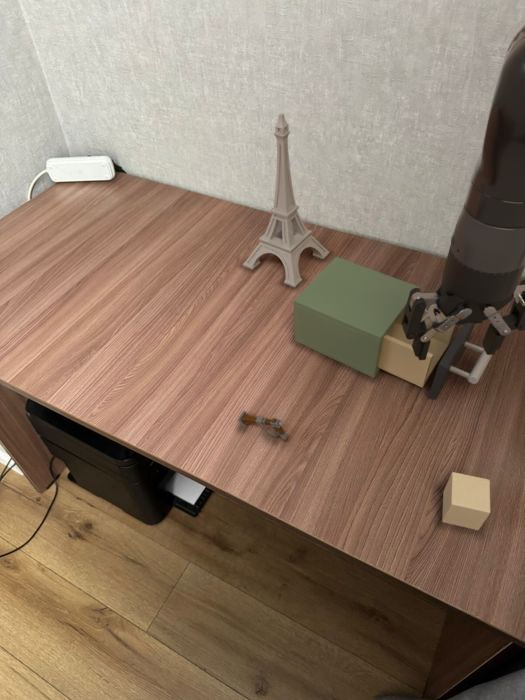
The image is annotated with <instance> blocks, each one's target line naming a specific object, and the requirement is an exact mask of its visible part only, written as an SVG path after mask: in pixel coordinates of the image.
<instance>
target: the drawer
mask: <svg viewBox="0 0 525 700" xmlns="http://www.w3.org/2000/svg"><path fill="white" fill-rule="evenodd" d="M433 305H434V304H433ZM433 305H431V306H433ZM431 306H430V307H431ZM430 307H429V308H430ZM404 311H405V309H404ZM404 311H403V312H402V313H401V315H400V316H399V317H398V319H397V320H396V321H395V323H394V324H393V325H392V327H391V328H390V329H389V331H388V332H387V333H386V335H385V336H384V337H383V339H382V345H381V351H380V356H379V362H378V368H380V370H383V371H385V372H386V373H389V374H391V375H394V376H395V377H398V378H400V379H402V380H404V381H407V382H409V383H411V384H413V385H415V386H417V387H419V388H424V386H425V385H426V383H427V381H428V379H429V378H430V377H431V375H432V373H433V372H434V371H435V369H436V368H437V369H436V371H435V374H434V378H433V381H432V384H431V387H430V391H429V394H428V397H429V398H431V399H433V400H434V401H435V400H437V399H438V397H439V395H440V394H441V392H442V390H443V388H444V387H445V385H446V383H447V382H448V380H449V378H450V377H451V375H452V373H454V374H457V375H458V376H460V377H463V378H465V379H467V381H468V383H470V384H473V385H477V384H478V382H479V381H480V379H481V377H482V375H483V374H484V372H485V369H486V368H487V366H488V364H489V362H490V361H491V359H492V357H493V355H487V354H486V352H485V350H484V348H483V347H481V346H478V345H476V344H473V343H471V342H470V339H471V336H472V333H473V331H474V328H475V325H476V323H466V324H462V326H461V327H460V329H459V331H458V332H457V334H456V336H455V337H454V339H453V340H452V338H453V335H454V333H455V329H456V326H457V325H453V326H452V327H451V328H449V329H448V330H447V331H446V332H444V333H441V332H439V333H438V334H436V335H435V336H434V337H433V338H431V339H430V341H431V342H430V346H429V349H428V353H427V357H426V360H419V359H418V357H416V356H415V354H414V351H413V348H412V343H413V339H411V340H409V339H407V338H406V336H405V333H404V330H403V327H402V324H401V321H402V318H403V314H404ZM427 311H428V310H427ZM425 315H426V314H423V317H424V316H425ZM440 316H441V318H442V320H444V319H445V318H446V317H445V316H444V314H443V313H442V312H441V314H440ZM423 317H422V318H423ZM431 325H432V323H431V324H430V325H428V326H427V329H428V328H429V327H430V326H431ZM451 341H452V342H451ZM467 349H470V350H472V351H474V352H477V353H480V355H479V357H478V359H477V360H476V362H475V364H474V366H473V368H472V369H471V371H470V372H467V371H464V370H462V369H460V368H458V367H456V366H457V365H458V363H459V362H460V360H461V358H462V356H463V355H464V353H465V351H466V350H467ZM437 365H438V366H437Z"/></svg>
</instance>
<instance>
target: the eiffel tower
mask: <svg viewBox="0 0 525 700" xmlns="http://www.w3.org/2000/svg"><path fill="white" fill-rule="evenodd" d="M289 127H290V126H289V123H288V122H287V120H286V118H285V113H282V112H280V113H279V114H278V118H277V122H276V124H275V126H274V133H273V135H274V136H275V138H276V174H275V175H276V177H275V191H274V200H273V207H272V208H271V209H270V210H269V212H270V213H271V217H270V219H269V222H268V225H267V227H266V230H265V233H263V234H262V235H261V236H259V238H258V241H259V243H258V244H257V245H256V247H255V248H254V249H253V251H252V252H251V253H250V255H248V257H247V258H246V260H245V261H244V262H243V263H242V266H243V267H245V268H248V269H250V270H252V271H253V270H254V269H255V268H257V267H258V266H259V265H260V264H261V261H260V259H261V257H262V256H263V255H264V254H273V255H275V256H277V258H279V259H280V261H281V263H282V264H283V267H284V271H285V272H284V273H285V280H284V281H283V283H284V284H285V285H288V286H290V287H292V288H296V287H297V286H298V285H300V284H301V282H302V281H303V278H301V274H300V269H299V261H300V256H301V254H302V252H303V251H304V250H305V249H307V248H310V249H311V250H312V256H313V257H315V258H318V259H321V260H325V258H326V257H328V255H329V254H330V253H331V251H330V250H328V249H327V248H326V247H325V246H324V245H322V243H321V242H320V241H318V240H317V239H316V238H315V237H314V236H313V235H312V233H313V230H310V229H308V228H307V227H306V225H305V224H304V222H303V220H302V218H301V216H300V214H299V211H298V210H299V208H300V206H299V205H297V204H296V200H295V194H294V188H293V182H292V174H291V165H290V156H289V155H290V154H289V153H290V152H289V135H290V133H291V130H290V128H289Z"/></svg>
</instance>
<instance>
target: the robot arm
mask: <svg viewBox="0 0 525 700" xmlns="http://www.w3.org/2000/svg"><path fill="white" fill-rule="evenodd" d="M466 193H467V194H466V196H465V200H464V203H463V207H462V208H461V211H460V213H459V216H458V217H457V220H456V223H455V227H454V231H453V233H452V236H451V238H450V245H449V250H448V253H447V257H446V260H445V264H444V268H443V272H442V277H441V283H440V285H439V287H438V288H437V289H436V290H435V292H422V290H421V288H420V287H419V288H414V289H412V290H411V291H410V294H409V297H408V300H407V304H406V307H405V311H404V314H403V318H402V321H401V324H402V327H403V330H404V333H405V336H406V338H407V339H409V340H411V339H413V343H412V348H413V351H414V354H415V356H416V357H418V359H419V360H426V357H427V353H428V349H429V346H430V342H431V341H430V339H431V338H433V337H434V336H435V335H436V334H438V333H439V332H441V333H444V332H446V331H447V330H448V329H449V328H451V327H452V326H453V325H456V326H461V325H462V326H463V324H466V323H475V324H482V323H483V322H484V321H486V320H488V321H489V322H490V323H489V324H488V327H487V329H486V331H485V334H484V337H483V339H482V344H481V345H482V348H484V350H485V352H486V354H487V355H492V356H493V355H495V354H496V351H498V350H500V349H501V347H502V345H503V343H504V340H505V338H506V336H507V335H509V334H511V332H512V331H513V330H517V331H519V332H522V331H525V279H523V280H521V278H522V275H523V273H524V270H525V24H524V25H523V26H522V27H521V28H520V29H519V30H518V32H517V33H516V34H515V35H514V36H513V38H512V40H511V42H510V44H509V45H508V47H507V49H506V53H505V55H504V59H503V62H502V64H501V68H500V70H499V73H498V76H497V80H496V84H495V87H494V91H493V94H492V100H491V104H490V109H489V113H488V118H487V122H486V125H485V132H484V137H483V142H482V148H481V151H480V153H479V156H478V158H477V160H476V163H475V166H474V168H473V172H472V175H471V177H470V182H469V185H468V189H467V192H466ZM520 280H521V281H520ZM512 300H513V302H512ZM510 302H512V305H511V307H510V311H509V313H508V314H507V315H503V314H502V312H501V311H500V310H502V309H503V308H505V307H506V306H507V305H508V304H509V303H510ZM433 304H434V305H433ZM431 305H433V306H431ZM430 306H431V307H430ZM429 307H430V308H429ZM427 310H428V311H427ZM441 312H442V313H443V314H444V316H445V317H446V318H445V319H444V320H442V318H441V316H440V314H441ZM423 314H426V315H425V316H424V317H423ZM422 317H423V318H422ZM431 323H432V325H431V326H430V327H429V328H428V329H427V326H428V325H430V324H431Z"/></svg>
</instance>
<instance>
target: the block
mask: <svg viewBox="0 0 525 700" xmlns="http://www.w3.org/2000/svg"><path fill="white" fill-rule="evenodd" d="M490 482H491V481H490V479H487V478H483V477H479V476H475V475H474V476H473V475H469V474H465V473H460V472H456V471H455V472H454V471H452V472H451V474H450V477H449V479H448V481H447V483H446V484H445V487H444V489H443V495H442V516H441V517H442V518H441V522H442V523H445V524H449V525H453V526H458V527H462V528H466V529H471V530H474V531H479V530H480V529H481V527H482V526H483V524H484V523H485V521H486V520H487V518H488V517H489V516H490V514H491V484H490Z"/></svg>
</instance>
